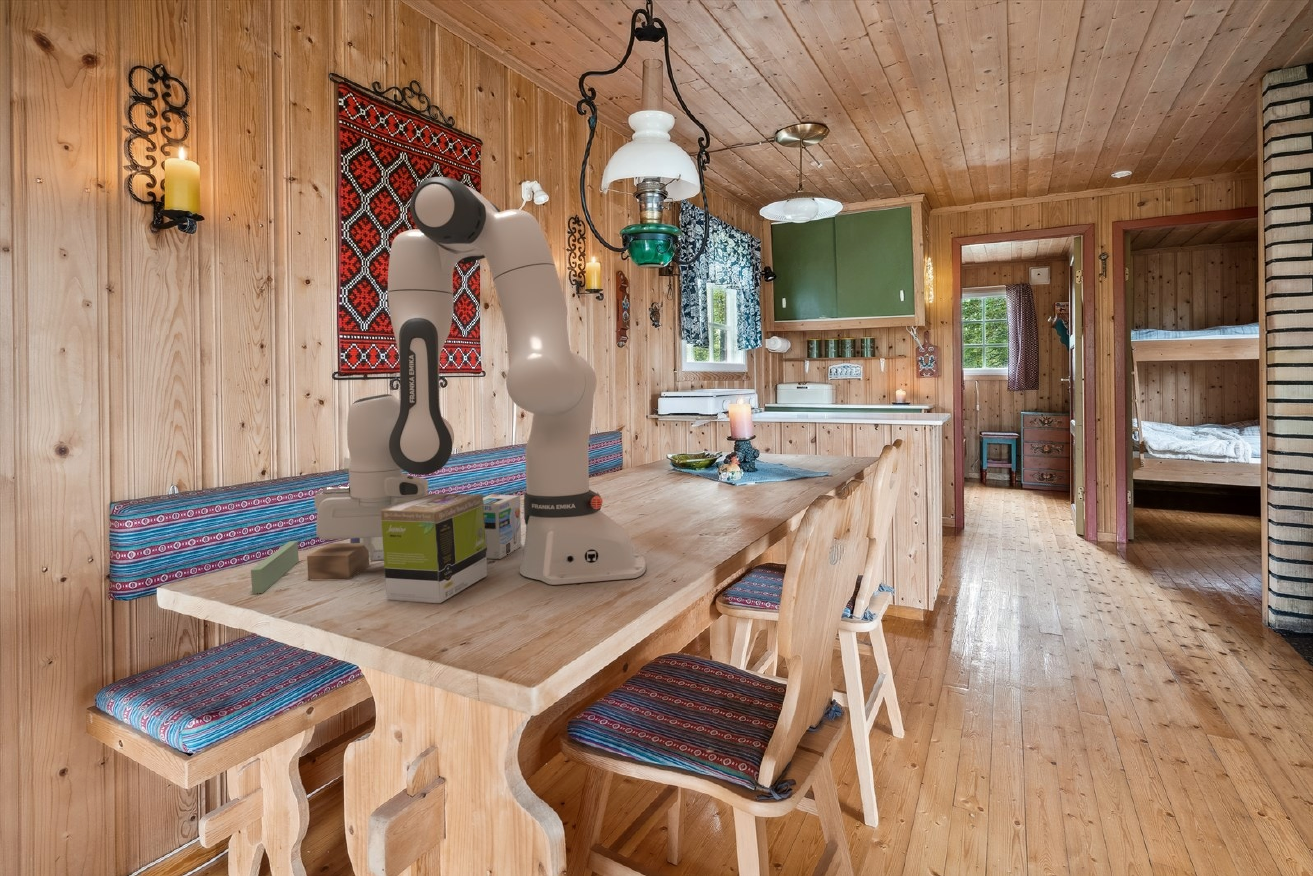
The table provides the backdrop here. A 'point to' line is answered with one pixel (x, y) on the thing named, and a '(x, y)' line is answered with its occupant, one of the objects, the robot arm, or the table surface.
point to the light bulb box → (501, 525)
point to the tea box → (433, 547)
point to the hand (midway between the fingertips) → (380, 560)
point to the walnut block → (337, 561)
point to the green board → (274, 567)
